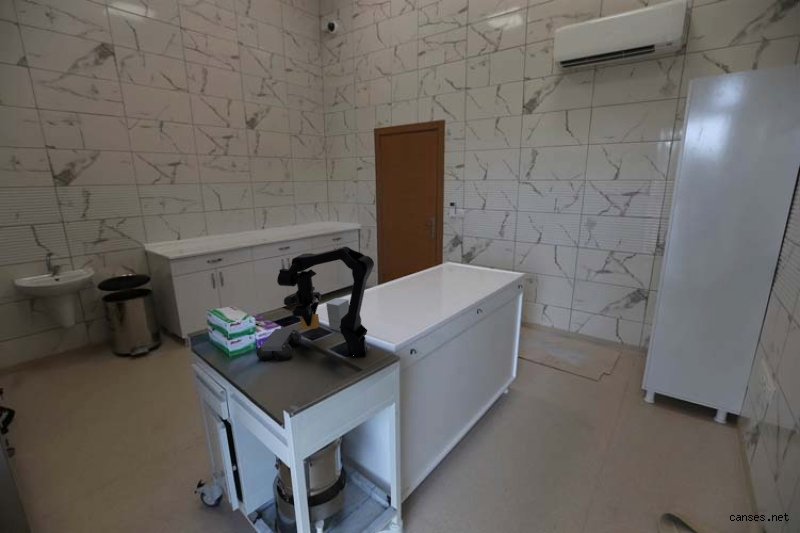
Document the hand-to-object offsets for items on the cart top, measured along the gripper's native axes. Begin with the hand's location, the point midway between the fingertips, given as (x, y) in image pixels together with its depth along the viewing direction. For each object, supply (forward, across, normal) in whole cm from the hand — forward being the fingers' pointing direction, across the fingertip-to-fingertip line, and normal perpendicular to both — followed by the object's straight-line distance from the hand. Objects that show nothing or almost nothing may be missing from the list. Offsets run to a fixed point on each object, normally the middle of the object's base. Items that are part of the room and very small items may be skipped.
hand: (310, 323), depth 145 cm
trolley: (+11, +2, -13) cm, 17 cm away
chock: (+1, 0, 0) cm, 1 cm away
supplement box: (+11, -19, +7) cm, 23 cm away
